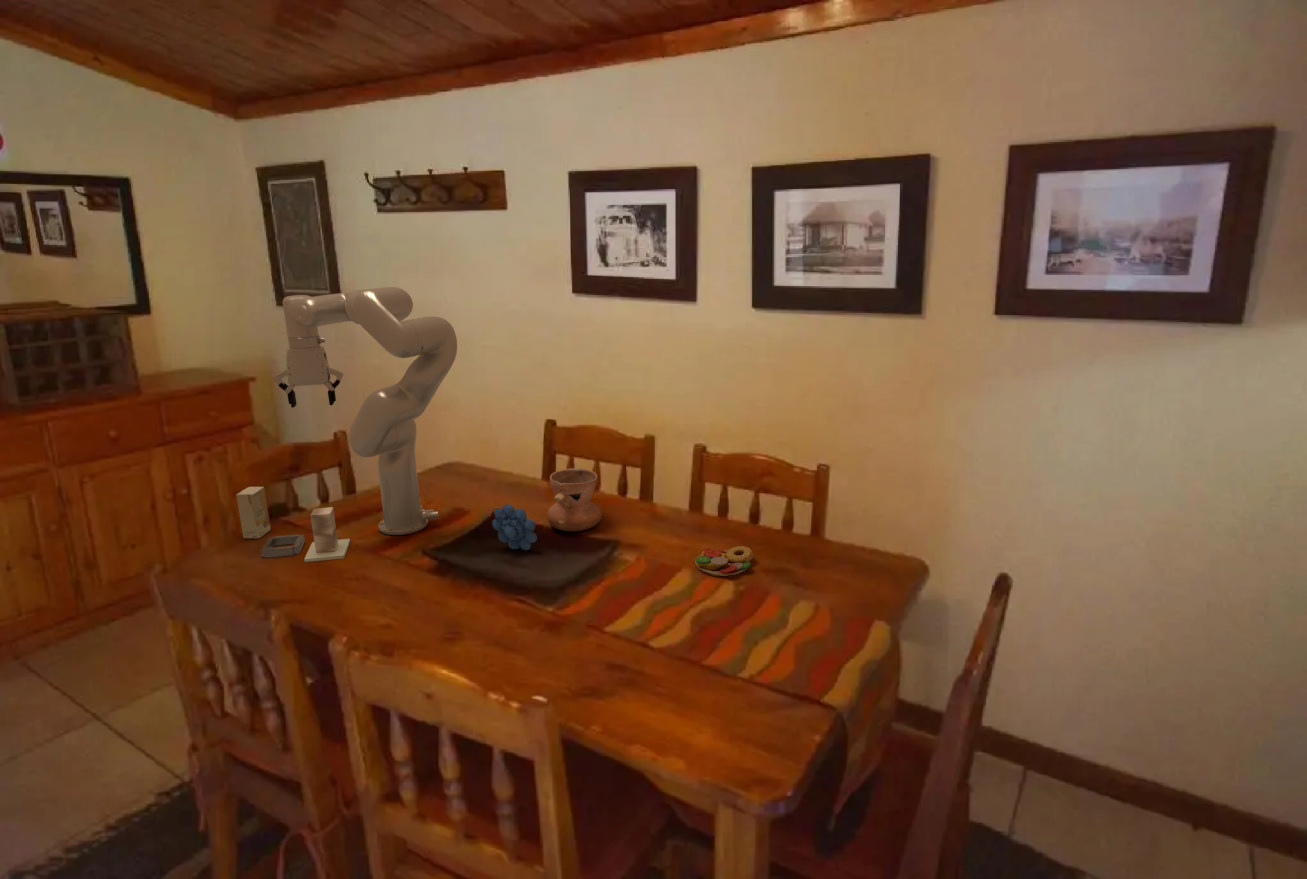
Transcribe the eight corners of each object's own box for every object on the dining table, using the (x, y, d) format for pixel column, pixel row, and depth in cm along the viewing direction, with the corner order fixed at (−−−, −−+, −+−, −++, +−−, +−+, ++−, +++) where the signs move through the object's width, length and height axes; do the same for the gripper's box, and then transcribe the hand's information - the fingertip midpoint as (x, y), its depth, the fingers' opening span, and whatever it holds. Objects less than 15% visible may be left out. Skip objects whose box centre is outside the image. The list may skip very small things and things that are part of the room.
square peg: (338, 544, 193) (332, 507, 190) (335, 551, 188) (329, 513, 185) (319, 545, 192) (314, 508, 189) (316, 553, 188) (310, 515, 185)
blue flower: (486, 554, 188) (482, 509, 184) (498, 543, 194) (495, 499, 190) (530, 559, 185) (527, 513, 181) (541, 548, 191) (538, 503, 188)
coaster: (350, 541, 196) (349, 538, 196) (344, 558, 187) (343, 555, 186) (312, 545, 194) (312, 542, 194) (304, 562, 185) (304, 559, 184)
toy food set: (755, 558, 185) (756, 545, 184) (747, 583, 173) (747, 569, 172) (701, 552, 189) (701, 540, 188) (689, 576, 177) (689, 563, 176)
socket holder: (305, 540, 197) (304, 533, 196) (298, 554, 189) (297, 547, 188) (270, 544, 195) (268, 536, 194) (261, 558, 187) (260, 550, 186)
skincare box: (259, 539, 198) (252, 494, 194) (243, 539, 198) (235, 494, 194) (272, 528, 204) (264, 485, 201) (255, 528, 204) (248, 485, 201)
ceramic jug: (583, 542, 194) (582, 489, 190) (534, 532, 200) (532, 481, 196) (615, 518, 210) (614, 468, 206) (568, 509, 216) (567, 461, 212)
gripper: (341, 339, 209) (348, 400, 214) (272, 342, 205) (282, 404, 210) (336, 343, 202) (344, 406, 207) (265, 346, 198) (275, 410, 203)
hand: (313, 405), depth 208 cm, fingers open, 9 cm apart
